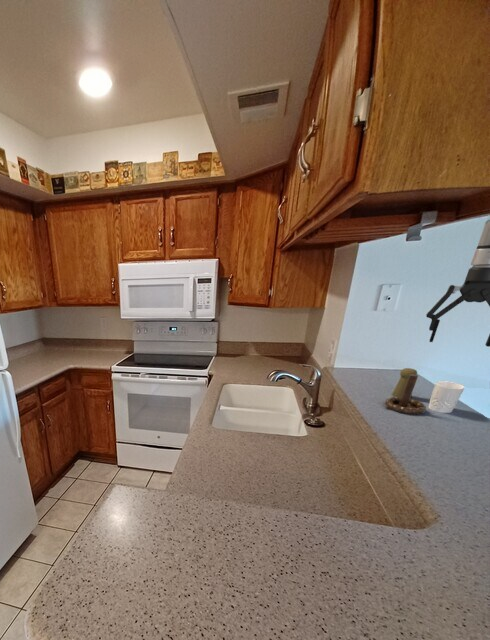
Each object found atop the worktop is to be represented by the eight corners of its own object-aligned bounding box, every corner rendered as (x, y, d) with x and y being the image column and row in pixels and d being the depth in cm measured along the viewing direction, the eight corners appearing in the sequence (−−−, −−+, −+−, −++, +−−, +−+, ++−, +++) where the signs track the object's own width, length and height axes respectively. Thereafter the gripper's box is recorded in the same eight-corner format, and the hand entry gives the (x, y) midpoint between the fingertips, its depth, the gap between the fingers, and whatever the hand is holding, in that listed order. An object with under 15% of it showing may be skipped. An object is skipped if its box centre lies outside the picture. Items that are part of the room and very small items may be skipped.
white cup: (444, 417, 112) (456, 390, 108) (420, 409, 119) (430, 383, 114) (457, 413, 115) (470, 386, 110) (433, 405, 122) (444, 379, 117)
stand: (416, 409, 119) (430, 373, 112) (415, 418, 112) (430, 381, 106) (387, 404, 123) (399, 369, 117) (385, 412, 117) (397, 376, 110)
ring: (425, 405, 118) (427, 400, 117) (424, 417, 109) (426, 412, 108) (386, 398, 124) (387, 393, 123) (382, 409, 116) (384, 404, 115)
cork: (389, 395, 130) (398, 369, 125) (394, 391, 134) (403, 365, 129) (407, 399, 127) (417, 372, 121) (411, 395, 130) (421, 368, 125)
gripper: (432, 267, 95) (409, 341, 105) (555, 265, 82) (516, 350, 92) (431, 267, 100) (409, 337, 110) (547, 264, 87) (511, 345, 97)
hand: (458, 343), depth 101 cm, fingers open, 13 cm apart
